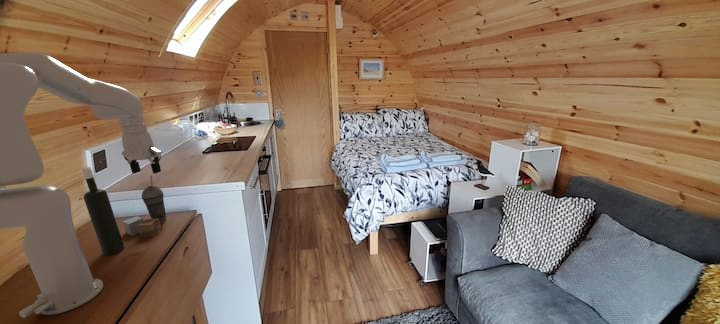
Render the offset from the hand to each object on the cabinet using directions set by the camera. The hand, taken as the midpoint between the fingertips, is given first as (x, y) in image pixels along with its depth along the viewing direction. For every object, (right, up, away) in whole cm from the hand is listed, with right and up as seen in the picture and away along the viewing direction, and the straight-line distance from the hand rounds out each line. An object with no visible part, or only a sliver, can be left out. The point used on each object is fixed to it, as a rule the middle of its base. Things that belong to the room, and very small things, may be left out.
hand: (146, 172), depth 116 cm
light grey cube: (-3, -23, -1) cm, 23 cm away
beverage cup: (+1, -21, +6) cm, 22 cm away
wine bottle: (-1, -27, -15) cm, 30 cm away
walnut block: (+5, -23, -4) cm, 24 cm away
